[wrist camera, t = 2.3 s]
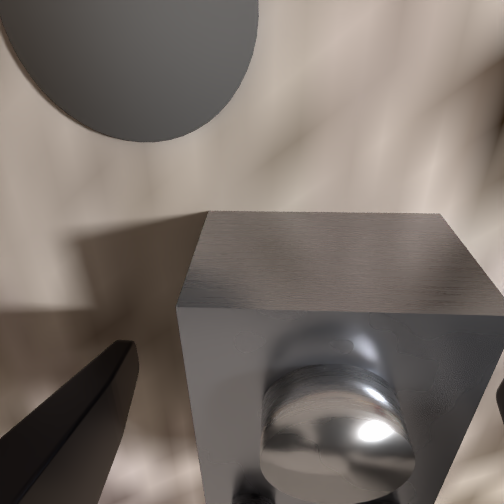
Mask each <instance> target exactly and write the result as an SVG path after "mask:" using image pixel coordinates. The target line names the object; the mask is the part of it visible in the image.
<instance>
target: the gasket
mask: <svg viewBox="0 0 504 504" xmlns="http://www.w3.org/2000/svg"><path fill="white" fill-rule="evenodd" d="M0 16H1V20H2V23H3V25H4V28H5V30H6V33H7V35H8V37H9V40H10V42H11V44H12V46H13V48H14V50H15V52H16V53H17V55H18V57H19V59H20V61H21V62H22V64H23V65H24V67H25V68H26V70H27V71H28V73H29V74H30V76H31V77H32V78H33V80H34V81H35V82H36V83H37V84H38V86H39V87H40V88H41V89H42V91H43V92H44V93H45V94H46V95H47V96H48V97H49V98H50V99H51V100H52V101H53V102H54V103H55V104H57V105H58V106H59V107H60V108H61V109H63V110H64V111H65V112H66V113H67V114H69V115H70V116H72V117H73V118H75V119H76V120H78V121H79V122H81V123H82V124H84V125H86V126H88V127H90V128H92V129H94V130H96V131H98V132H101V133H103V134H106V135H108V136H111V137H115V138H119V139H123V140H127V141H135V142H159V141H166V140H171V139H174V138H178V137H181V136H184V135H186V134H188V133H191V132H193V131H195V130H197V129H198V128H200V127H201V126H203V125H205V124H206V123H208V122H209V121H210V120H211V119H212V118H214V117H215V116H216V115H217V114H218V113H219V112H220V111H221V110H222V109H223V108H224V107H225V106H226V105H227V103H228V102H229V101H230V100H231V98H232V97H233V95H234V94H235V92H236V91H237V89H238V88H239V86H240V84H241V82H242V80H243V78H244V76H245V74H246V72H247V69H248V66H249V63H250V60H251V58H252V55H253V51H254V46H255V41H256V37H257V27H258V17H259V15H258V0H0Z"/></svg>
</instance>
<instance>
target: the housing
mask: <svg viewBox="0 0 504 504" xmlns="http://www.w3.org/2000/svg"><path fill="white" fill-rule="evenodd" d="M176 313H177V319H178V326H179V332H180V339H181V345H182V352H183V359H184V365H185V372H186V378H187V385H188V391H189V398H190V404H191V411H192V417H193V424H194V430H195V437H196V444H197V450H198V457H199V463H200V470H201V476H202V483H203V489H204V496H205V502H206V504H434V503H435V500H436V498H437V496H438V494H439V491H440V489H441V487H442V485H443V483H444V480H445V478H446V476H447V474H448V471H449V469H450V467H451V465H452V463H453V460H454V458H455V456H456V454H457V451H458V449H459V447H460V445H461V443H462V440H463V438H464V436H465V434H466V431H467V429H468V427H469V425H470V423H471V420H472V418H473V416H474V414H475V411H476V409H477V407H478V405H479V403H480V400H481V398H482V396H483V394H484V391H485V389H486V387H487V385H488V383H489V380H490V378H491V376H492V374H493V371H494V369H495V367H496V365H497V363H498V360H499V358H500V356H501V354H502V352H503V349H504V297H503V295H502V294H501V293H500V291H499V290H498V289H497V288H496V286H495V285H494V284H493V282H492V281H491V280H490V278H489V277H488V276H487V274H486V273H485V272H484V271H483V269H482V268H481V267H480V265H479V264H478V263H477V261H476V260H475V259H474V258H473V256H472V255H471V254H470V252H469V251H468V250H467V248H466V247H465V246H464V244H463V243H462V242H461V241H460V239H459V238H458V237H457V235H456V234H455V233H454V231H453V230H452V229H451V227H450V226H449V225H448V224H447V222H446V221H445V220H444V218H443V217H442V216H441V214H421V213H336V212H251V211H208V214H207V217H206V220H205V223H204V226H203V229H202V232H201V235H200V237H199V240H198V243H197V246H196V249H195V252H194V255H193V258H192V261H191V264H190V267H189V270H188V272H187V275H186V278H185V281H184V284H183V287H182V290H181V293H180V296H179V299H178V302H177V305H176Z"/></svg>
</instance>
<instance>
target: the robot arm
mask: <svg viewBox="0 0 504 504" xmlns="http://www.w3.org/2000/svg"><path fill="white" fill-rule="evenodd" d="M138 373H139V361H138V354H137V348H136V344H135V342H134V341H130V340H117V341H115V342H114V343H113V344H111V345H110V346H109V347H108V348H107V349H105V350H104V351H103V352H102V353H101V354H100V355H98V356H97V357H96V358H95V359H94V360H92V361H91V362H90V363H89V364H88V365H87V366H85V367H84V368H83V369H82V370H81V371H79V372H78V373H77V374H76V375H75V376H74V377H72V378H71V379H70V380H69V381H68V382H66V383H65V384H64V385H63V386H62V387H61V388H59V389H58V390H57V391H56V392H55V393H53V394H52V395H51V396H50V397H49V398H48V399H46V400H45V401H44V402H43V403H42V404H40V405H39V406H38V407H37V408H36V409H35V410H33V411H32V412H31V413H30V414H29V415H27V416H26V417H25V418H24V419H23V420H22V421H20V422H19V423H18V424H17V425H16V426H14V427H13V428H12V429H11V430H10V431H9V432H7V433H6V434H5V435H4V436H3V437H1V438H0V504H98V501H99V498H100V496H101V493H102V490H103V488H104V485H105V482H106V480H107V477H108V474H109V472H110V469H111V466H112V464H113V461H114V458H115V455H116V453H117V450H118V447H119V445H120V442H121V439H122V436H123V432H124V429H125V425H126V421H127V417H128V413H129V409H130V405H131V401H132V397H133V393H134V389H135V385H136V381H137V377H138ZM496 400H497V404H498V408H499V411H500V414H501V417H502V421H503V424H504V379H503V381H502V382H501V384H500V386H499V388H498V390H497V393H496Z"/></svg>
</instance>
